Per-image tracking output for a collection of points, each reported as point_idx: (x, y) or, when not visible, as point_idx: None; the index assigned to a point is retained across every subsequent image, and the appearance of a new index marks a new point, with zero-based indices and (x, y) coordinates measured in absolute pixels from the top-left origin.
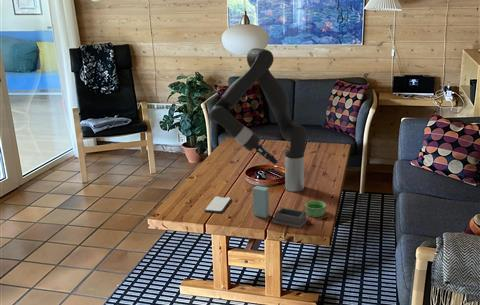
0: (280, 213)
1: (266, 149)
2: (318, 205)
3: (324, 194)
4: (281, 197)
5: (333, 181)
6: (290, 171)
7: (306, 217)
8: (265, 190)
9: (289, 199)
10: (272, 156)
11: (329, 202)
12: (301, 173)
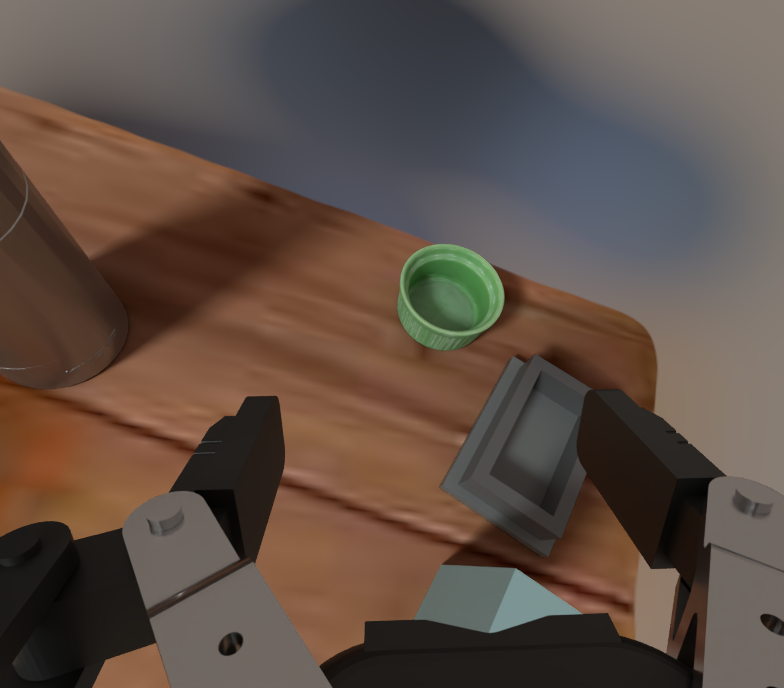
0: (561, 498)
1: (250, 565)
2: (413, 277)
3: (220, 215)
4: (185, 441)
5: (58, 131)
6: (28, 293)
7: (511, 362)
8: (576, 610)
9: (233, 398)
10: (268, 430)
11: (325, 224)
12: (68, 231)
